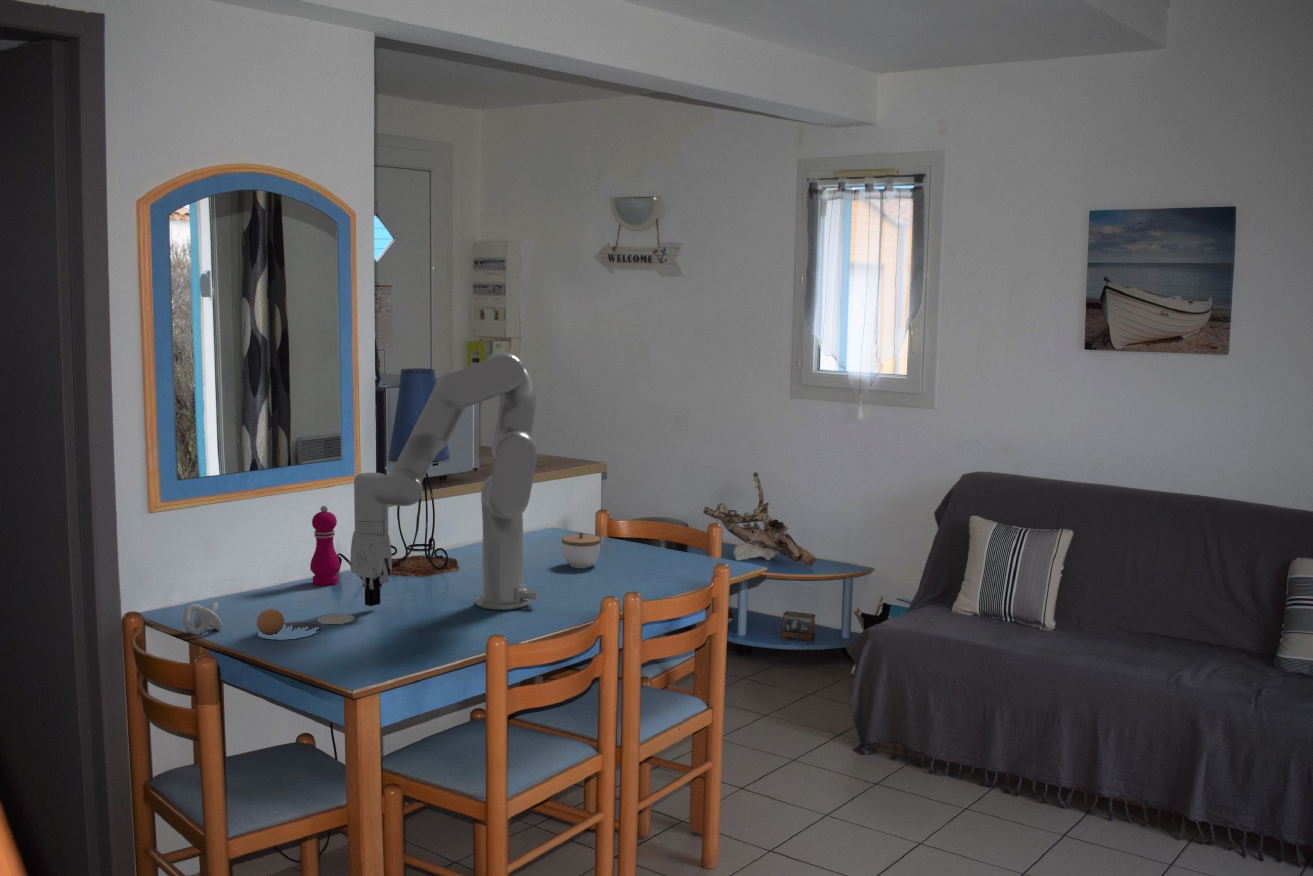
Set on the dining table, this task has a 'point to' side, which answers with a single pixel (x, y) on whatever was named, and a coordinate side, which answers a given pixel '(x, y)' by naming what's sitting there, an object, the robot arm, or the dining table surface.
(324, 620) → the plain round gray disc
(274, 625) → the ball
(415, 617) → the dining table surface
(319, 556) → the pepper mill
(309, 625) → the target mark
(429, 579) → the dining table surface
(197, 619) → the knot
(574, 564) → the lidded jar
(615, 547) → the dining table surface
